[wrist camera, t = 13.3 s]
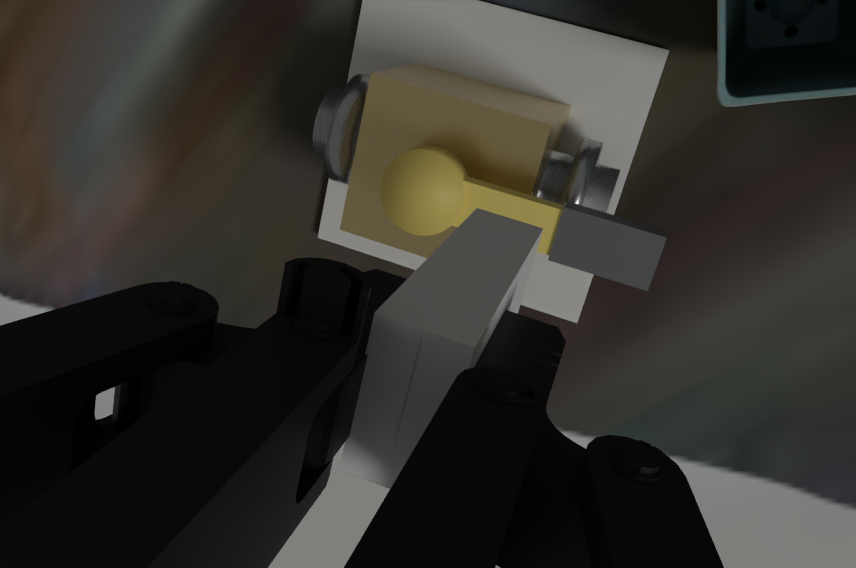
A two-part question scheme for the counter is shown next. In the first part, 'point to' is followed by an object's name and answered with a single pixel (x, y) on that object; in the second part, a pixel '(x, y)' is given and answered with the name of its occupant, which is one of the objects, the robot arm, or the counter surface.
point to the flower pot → (785, 50)
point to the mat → (523, 71)
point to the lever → (518, 217)
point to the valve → (449, 144)
